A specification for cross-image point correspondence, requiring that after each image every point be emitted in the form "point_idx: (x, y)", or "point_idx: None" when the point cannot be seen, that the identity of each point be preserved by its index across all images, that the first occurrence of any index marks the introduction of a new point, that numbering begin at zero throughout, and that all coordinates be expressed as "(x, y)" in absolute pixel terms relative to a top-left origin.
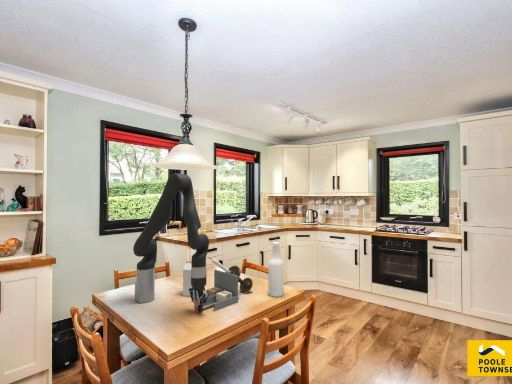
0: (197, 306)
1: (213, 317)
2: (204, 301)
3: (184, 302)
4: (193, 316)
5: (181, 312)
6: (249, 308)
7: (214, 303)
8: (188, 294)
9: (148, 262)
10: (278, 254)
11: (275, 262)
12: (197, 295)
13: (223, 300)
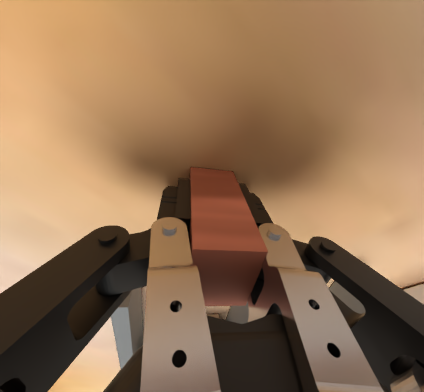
0: (194, 200)
1: (19, 191)
2: (95, 286)
3: (399, 233)
4: (170, 99)
5: (338, 97)
6: None
7: (121, 309)
8: (419, 296)
9: None
10: None
11: None
12: (185, 357)
13: (123, 354)
